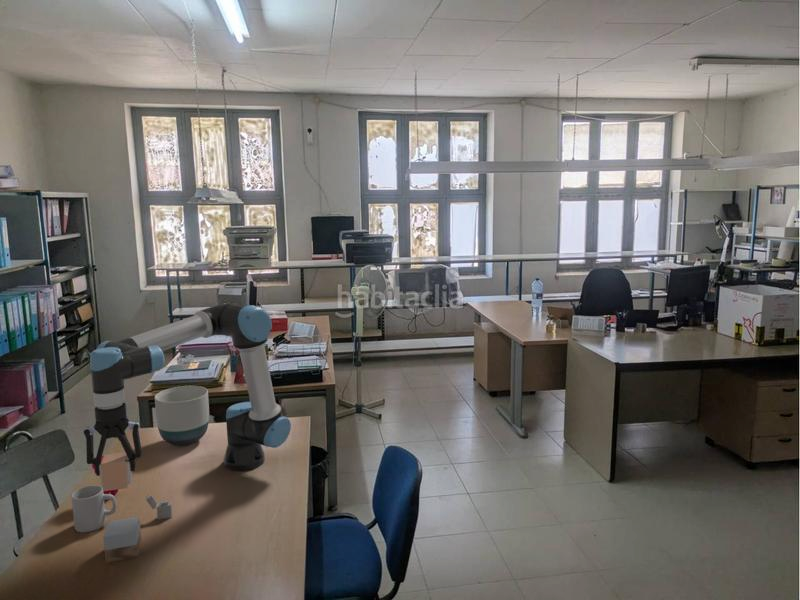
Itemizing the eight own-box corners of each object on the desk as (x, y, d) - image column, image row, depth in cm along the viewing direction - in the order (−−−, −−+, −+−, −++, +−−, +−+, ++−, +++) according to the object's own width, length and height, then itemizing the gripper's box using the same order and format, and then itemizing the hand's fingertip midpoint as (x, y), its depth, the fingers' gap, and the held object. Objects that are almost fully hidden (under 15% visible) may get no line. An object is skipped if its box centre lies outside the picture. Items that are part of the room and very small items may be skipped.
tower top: (140, 529, 160) (139, 516, 159) (136, 544, 152) (135, 531, 152) (110, 534, 157) (108, 521, 157) (104, 550, 150) (103, 537, 149)
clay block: (130, 477, 156) (128, 451, 154) (127, 487, 150) (125, 460, 149) (107, 480, 154) (105, 454, 153) (103, 491, 148) (100, 463, 147)
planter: (151, 442, 228) (147, 393, 224) (198, 428, 241) (195, 382, 238) (169, 458, 213) (165, 406, 209) (219, 443, 227) (216, 394, 223)
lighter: (172, 514, 174) (170, 491, 173) (171, 517, 172) (169, 494, 171) (148, 518, 172) (146, 494, 171) (147, 521, 170) (145, 497, 169)
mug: (70, 534, 163) (67, 501, 161) (79, 519, 171) (76, 486, 170) (114, 529, 166) (111, 495, 164) (121, 514, 174) (118, 482, 172)
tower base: (141, 541, 160) (140, 529, 160) (137, 557, 153) (136, 544, 152) (111, 546, 158) (110, 533, 157) (105, 563, 151) (104, 550, 150)
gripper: (149, 396, 154) (155, 472, 158) (74, 403, 149) (82, 482, 153) (146, 405, 147) (152, 484, 151) (66, 413, 142) (75, 495, 146)
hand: (117, 483), depth 152 cm, fingers closed on clay block, 6 cm apart
